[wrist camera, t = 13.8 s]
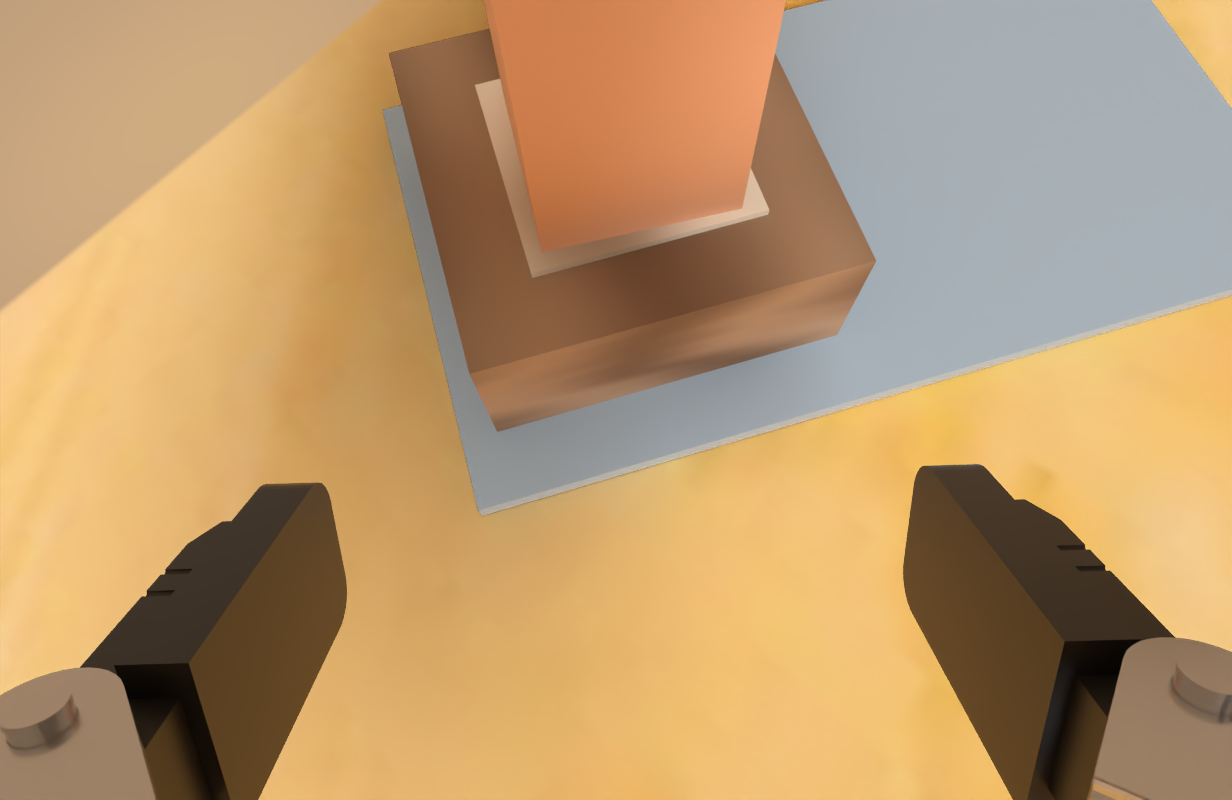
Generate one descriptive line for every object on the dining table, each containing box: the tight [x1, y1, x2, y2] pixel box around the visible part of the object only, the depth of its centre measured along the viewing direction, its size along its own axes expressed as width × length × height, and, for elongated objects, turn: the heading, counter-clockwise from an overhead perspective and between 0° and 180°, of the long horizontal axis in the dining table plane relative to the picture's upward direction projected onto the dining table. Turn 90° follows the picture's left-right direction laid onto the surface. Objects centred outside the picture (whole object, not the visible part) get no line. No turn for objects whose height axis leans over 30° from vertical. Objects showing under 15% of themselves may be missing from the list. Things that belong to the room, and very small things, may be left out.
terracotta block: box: [484, 0, 786, 252], centre depth 16 cm, size 5×5×9 cm
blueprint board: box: [383, 0, 1232, 516], centre depth 25 cm, size 26×14×1 cm, turn 107°
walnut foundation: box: [389, 29, 876, 432], centre depth 22 cm, size 10×10×4 cm
